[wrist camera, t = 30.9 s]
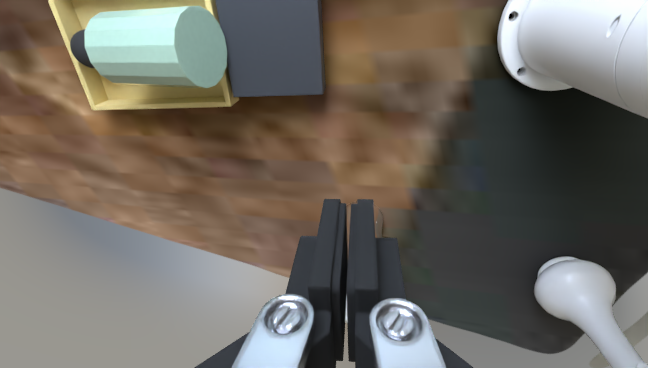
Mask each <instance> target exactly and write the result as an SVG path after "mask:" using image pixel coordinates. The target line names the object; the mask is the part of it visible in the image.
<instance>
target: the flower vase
mask: <svg viewBox="0 0 648 368" xmlns="http://www.w3.org/2000/svg"><path fill="white" fill-rule="evenodd" d="M537 277H538V278H537V280H536V282H535V286H534V294H535V298H536V300H537V302H538V303H539V304H540V306H541V307H542V308H543V309H544V310H545V311H547V312H548V313H550V314H551V315H553V316H555V317H557V318H559V319H562V320H565V321H569V322H572V323H574V324H575V325H576V326H578V327H579V328H580V329H581V330H583V331H584V332H585V333H586V334H587V335H588V337H589V338H590V339H591V340H592V341H593V343H594V344H595V345H596V347H597V348H598V349H599V351H600V352H601V353H602V355H603V356H604V358H605V359H606V360H607V362H608V363H609V364H610V366H611V367H612V368H648V364H646V363H645V362H644V361H643V360H642V358H641V357H640V356H639V354H638V353H637V352H636V350H635V349H634V347H633V346H632V345H631V343H630V342H629V340H628V339H627V338H626V336H625V335H624V333H623V332H622V330H621V329H620V327H619V325H618V324H617V322H616V319H615V317H614V314H613V309H612V306H613V304H614V302H615V299H616V284H615V282H614V280H613V278H612V276H611V275H610V273H609V272H608V271H607V270H606V269H604V268H603V267H602V266H600V265H598V264H596V263H593V262H590V261H586V260H579V259H577V258H575V257H569V256H563V257H557V258H554V259H551V260H549V261H547V262H546V263H544V264H543V265H542V266H541V267H540V269H539V271H538V275H537Z"/></svg>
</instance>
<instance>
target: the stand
mask: <svg viewBox="0 0 648 368" xmlns="http://www.w3.org/2000/svg"><path fill="white" fill-rule="evenodd" d="M215 1H216V7H217V12H218V17H219V22H220V27H221V29H222V32H223V34H224V37H225V41H226V47H227V65H228V70H229V76H230V81H231V86H232V92H233V97H255V96H289V95H322V94H323V93H324V91H325V88H326V84H325V64H324V45H323V26H322V6H321V0H215Z"/></svg>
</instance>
